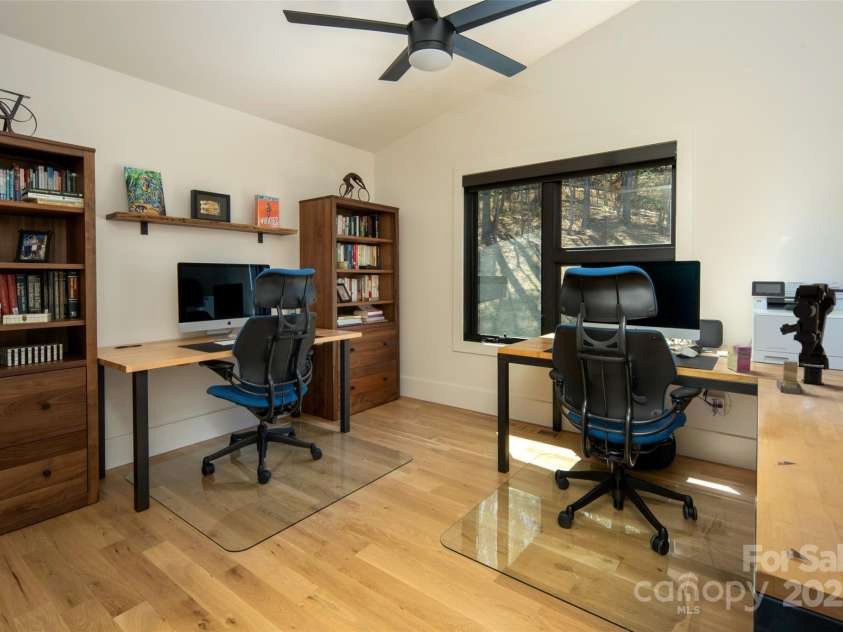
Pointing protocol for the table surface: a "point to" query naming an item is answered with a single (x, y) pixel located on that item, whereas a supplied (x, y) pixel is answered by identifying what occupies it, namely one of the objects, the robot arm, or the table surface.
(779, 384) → the trap lane
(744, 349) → the box
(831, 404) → the table surface
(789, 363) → the oak block
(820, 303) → the robot arm
